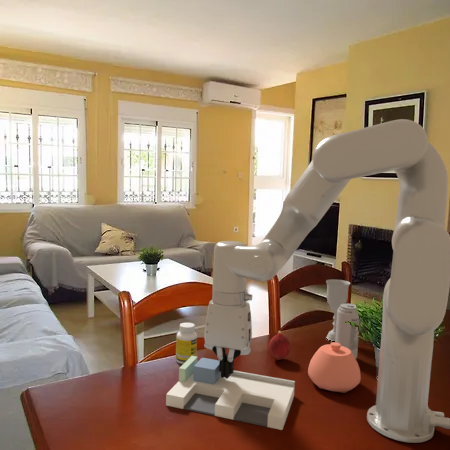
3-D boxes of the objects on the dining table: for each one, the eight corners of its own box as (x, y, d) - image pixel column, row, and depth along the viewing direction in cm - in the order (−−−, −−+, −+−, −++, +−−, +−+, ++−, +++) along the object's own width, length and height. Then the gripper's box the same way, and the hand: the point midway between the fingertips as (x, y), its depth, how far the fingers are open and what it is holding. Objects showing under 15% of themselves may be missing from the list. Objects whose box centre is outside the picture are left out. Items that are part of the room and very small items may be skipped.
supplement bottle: (193, 366, 112) (194, 329, 111) (173, 363, 113) (173, 327, 112) (198, 357, 118) (199, 322, 116) (179, 355, 119) (180, 320, 118)
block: (221, 375, 102) (221, 361, 102) (214, 384, 97) (214, 369, 97) (201, 371, 104) (201, 357, 103) (193, 380, 99) (193, 366, 98)
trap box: (294, 395, 99) (295, 372, 98) (282, 430, 85) (283, 403, 84) (191, 376, 106) (192, 355, 106) (166, 405, 93) (166, 380, 92)
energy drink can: (341, 352, 125) (344, 301, 123) (360, 359, 120) (364, 306, 119) (330, 358, 120) (333, 305, 119) (350, 365, 116) (353, 310, 114)
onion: (293, 359, 119) (294, 330, 118) (284, 366, 114) (285, 336, 113) (274, 353, 122) (275, 326, 121) (264, 360, 117) (265, 332, 116)
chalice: (322, 341, 132) (326, 283, 130) (321, 334, 139) (325, 278, 137) (347, 344, 131) (351, 285, 129) (345, 336, 138) (349, 280, 135)
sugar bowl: (303, 390, 101) (305, 348, 100) (312, 366, 114) (315, 329, 113) (358, 401, 97) (361, 357, 96) (361, 375, 110) (364, 336, 109)
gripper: (265, 296, 98) (262, 374, 100) (203, 289, 103) (201, 363, 105) (257, 305, 91) (254, 389, 93) (191, 297, 96) (189, 377, 98)
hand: (226, 375), depth 99 cm, fingers closed
